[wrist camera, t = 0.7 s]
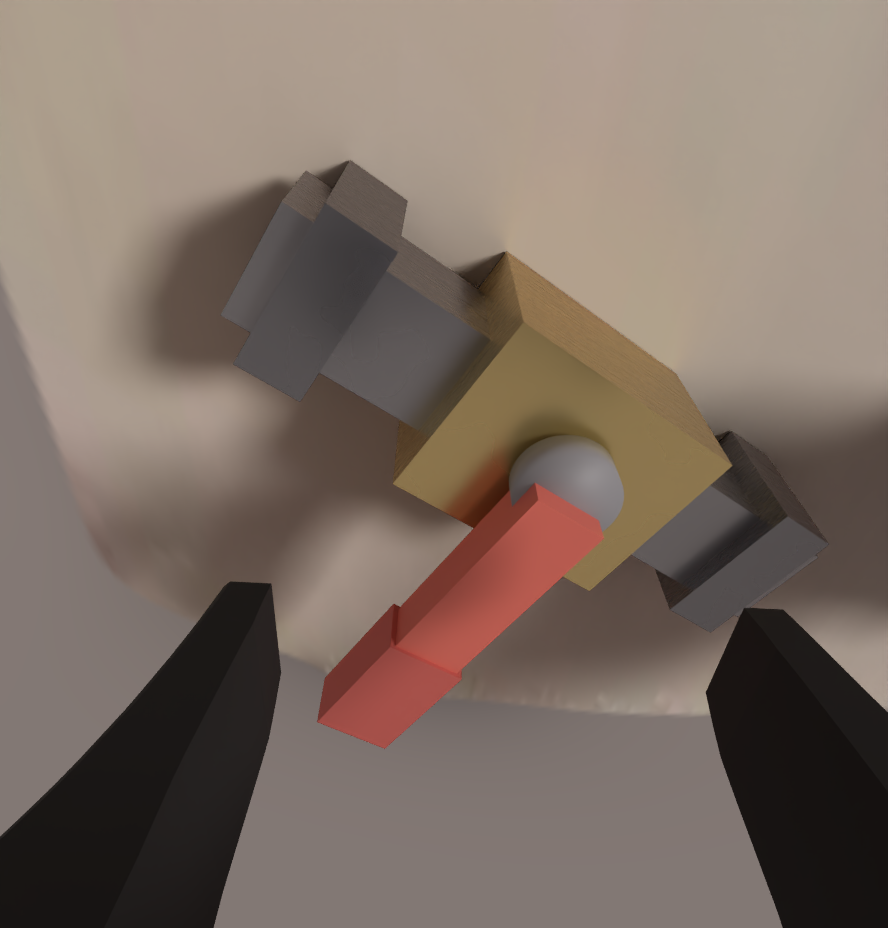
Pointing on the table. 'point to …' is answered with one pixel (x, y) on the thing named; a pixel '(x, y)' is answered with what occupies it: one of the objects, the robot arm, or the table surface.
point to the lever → (476, 589)
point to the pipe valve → (511, 394)
